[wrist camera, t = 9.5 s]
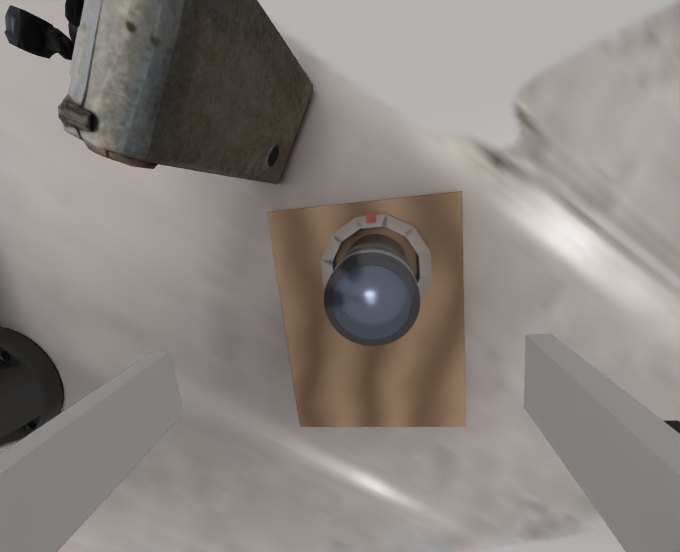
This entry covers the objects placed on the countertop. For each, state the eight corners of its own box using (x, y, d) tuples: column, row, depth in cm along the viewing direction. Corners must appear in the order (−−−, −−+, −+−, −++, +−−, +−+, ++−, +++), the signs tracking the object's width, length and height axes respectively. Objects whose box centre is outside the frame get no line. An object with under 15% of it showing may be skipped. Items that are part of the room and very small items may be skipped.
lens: (347, 297, 31) (328, 350, 20) (340, 236, 30) (316, 259, 19) (409, 293, 30) (424, 346, 20) (405, 230, 29) (419, 250, 18)
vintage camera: (173, 20, 29) (-243, -317, 10) (321, 87, 28) (171, -141, 9) (149, 124, 32) (-215, 14, 13) (283, 188, 31) (107, 171, 12)
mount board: (303, 417, 37) (293, 445, 33) (272, 211, 32) (255, 213, 28) (462, 416, 34) (473, 446, 30) (457, 191, 29) (470, 190, 25)
